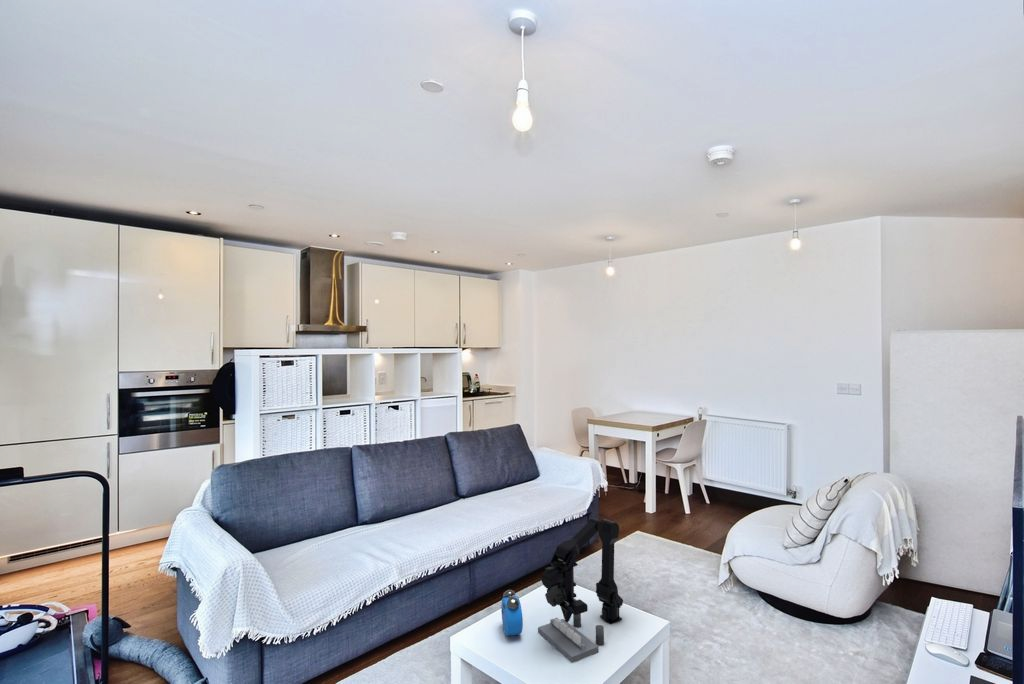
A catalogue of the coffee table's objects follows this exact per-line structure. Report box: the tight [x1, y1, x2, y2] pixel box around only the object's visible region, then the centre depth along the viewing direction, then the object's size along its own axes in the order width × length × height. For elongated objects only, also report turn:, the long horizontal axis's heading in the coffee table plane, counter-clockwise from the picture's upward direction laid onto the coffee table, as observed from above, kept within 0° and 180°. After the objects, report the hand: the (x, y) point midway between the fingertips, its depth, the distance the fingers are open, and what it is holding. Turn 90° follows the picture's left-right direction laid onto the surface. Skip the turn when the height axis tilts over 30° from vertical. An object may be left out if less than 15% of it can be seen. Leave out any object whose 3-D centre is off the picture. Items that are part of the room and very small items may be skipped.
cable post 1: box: [572, 613, 582, 629], centre depth 194 cm, size 3×3×6 cm
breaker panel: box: [537, 618, 600, 664], centre depth 183 cm, size 12×22×4 cm, turn 30°
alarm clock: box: [500, 589, 524, 637], centre depth 190 cm, size 13×6×15 cm, turn 12°
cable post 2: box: [595, 624, 605, 647], centre depth 182 cm, size 3×3×6 cm
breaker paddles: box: [552, 617, 581, 648], centre depth 183 cm, size 1×18×3 cm, turn 30°
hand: (566, 621), depth 183 cm, fingers closed
